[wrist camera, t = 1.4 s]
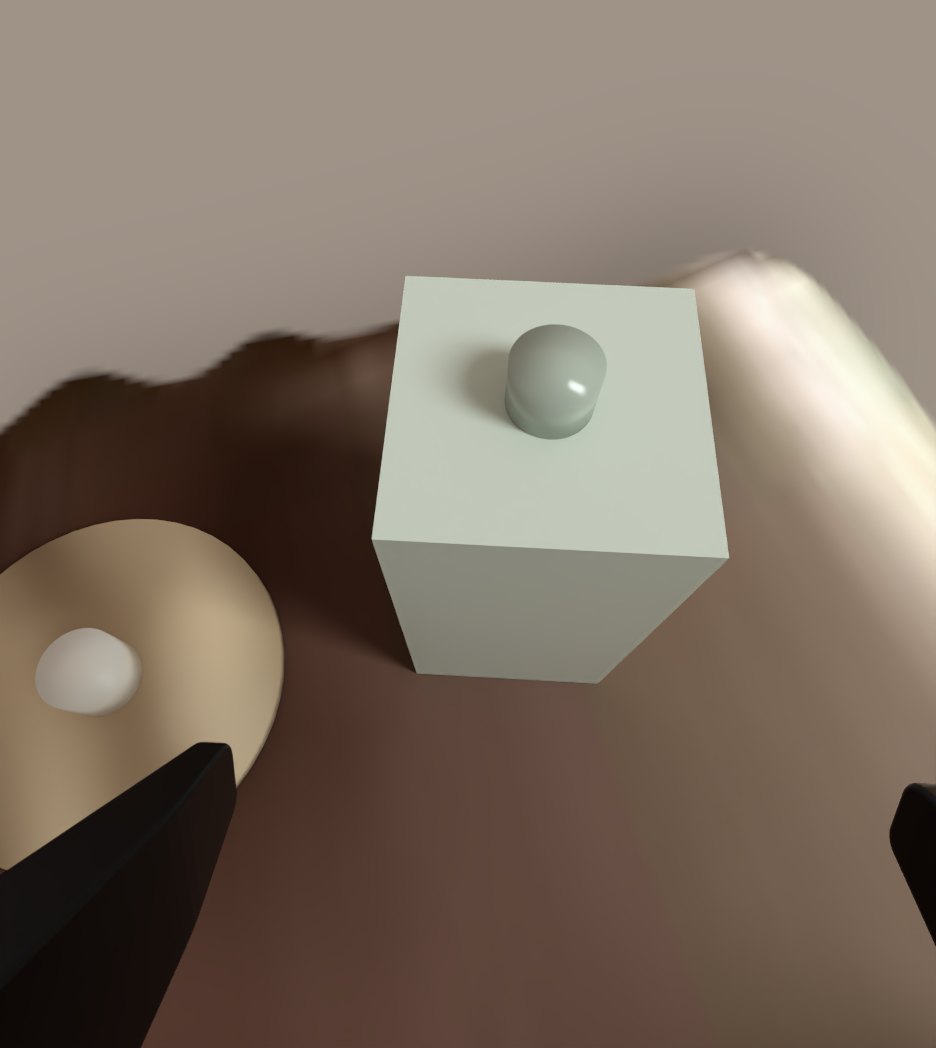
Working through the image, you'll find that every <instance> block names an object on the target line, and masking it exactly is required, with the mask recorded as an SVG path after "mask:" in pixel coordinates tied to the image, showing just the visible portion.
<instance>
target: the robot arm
mask: <svg viewBox="0 0 936 1048" xmlns="http://www.w3.org/2000/svg"><path fill="white" fill-rule="evenodd" d="M236 796H237V790H236V780H235V771H234V762H233V753H232V749H231V747H230V746H229V745H228V744H227V743H219V742H198V743H196V744H194V745H193V746H191V747H190V748H188V749H187V750H185V751H184V752H182V753H181V754H179V755H178V756H176V757H175V758H173V759H172V760H170V761H169V762H167V763H166V764H164V765H163V766H161V767H160V768H158V769H157V770H155V771H154V772H152V773H151V774H149V775H148V776H146V777H145V778H143V779H142V780H140V781H139V782H137V783H136V784H135V785H133V786H132V787H130V788H129V789H127V790H126V791H124V792H123V793H121V794H120V795H118V796H117V797H115V798H114V799H112V800H111V801H109V802H108V803H106V804H105V805H103V806H102V807H100V808H99V809H97V810H96V811H94V812H93V813H91V814H90V815H88V816H87V817H85V818H84V819H82V820H81V821H79V822H78V823H76V824H75V825H73V826H72V827H70V828H69V829H68V830H66V831H65V832H63V833H62V834H60V835H59V836H57V837H56V838H54V839H53V840H51V841H50V842H48V843H47V844H45V845H44V846H42V847H41V848H39V849H38V850H36V851H35V852H33V853H32V854H30V855H29V856H27V857H26V858H24V859H23V860H21V861H20V862H18V863H17V864H15V865H14V866H12V867H11V868H9V869H8V870H6V871H5V872H3V873H2V874H0V1048H141V1046H142V1044H143V1042H144V1040H145V1037H146V1035H147V1033H148V1031H149V1028H150V1026H151V1024H152V1022H153V1019H154V1017H155V1015H156V1013H157V1011H158V1008H159V1006H160V1004H161V1002H162V999H163V997H164V995H165V993H166V991H167V988H168V986H169V984H170V982H171V979H172V977H173V975H174V973H175V970H176V968H177V966H178V964H179V962H180V959H181V957H182V955H183V953H184V950H185V948H186V946H187V943H188V941H189V939H190V936H191V934H192V932H193V929H194V927H195V924H196V921H197V919H198V916H199V913H200V910H201V907H202V904H203V901H204V898H205V895H206V892H207V889H208V886H209V883H210V881H211V878H212V875H213V872H214V869H215V866H216V863H217V860H218V857H219V854H220V851H221V848H222V845H223V842H224V839H225V836H226V833H227V830H228V827H229V824H230V821H231V818H232V815H233V812H234V808H235V804H236ZM889 837H890V844H891V847H892V850H893V853H894V855H895V857H896V859H897V862H898V864H899V866H900V868H901V871H902V873H903V875H904V877H905V879H906V882H907V884H908V886H909V888H910V890H911V893H912V895H913V897H914V899H915V901H916V904H917V906H918V908H919V910H920V913H921V915H922V917H923V919H924V921H925V924H926V926H927V928H928V930H929V932H930V935H931V937H932V939H933V941H934V943H935V946H936V784H926V783H912V784H909V785H908V786H907V787H906V788H905V789H904V791H903V794H902V797H901V799H900V802H899V805H898V808H897V810H896V813H895V816H894V819H893V821H892V824H891V827H890V835H889Z"/></svg>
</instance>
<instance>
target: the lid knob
mask: <svg viewBox="0 0 936 1048" xmlns="http://www.w3.org/2000/svg"><path fill="white" fill-rule="evenodd" d="M142 673H143V666H142V661H141V658H140V656H139V654H138V652H137V651H136V650H135V649H134V648H133V647H132V646H131V645H130V644H128V643H126V642H124V641H122V640H120V639H118V638H116V637H114V636H112V635H110V634H108V633H106V632H104V631H102V630H99V629H95V628H81V629H76V630H73V631H70V632H68V633H66V634H64V635H62V636H60V637H59V638H58V639H56V640H55V641H54V642H53V643H52V644H51V645H50V646H49V647H48V648H47V649H46V651H45V652H44V653H43V655H42V657H41V658H40V660H39V663H38V665H37V669H36V674H35V684H36V689H37V691H38V694H39V695H40V697H41V698H42V699H43V701H44V702H46V703H47V704H48V705H50V706H52V707H55V708H57V709H61V710H65V711H69V712H73V713H77V714H81V715H85V716H90V717H98V716H104V715H107V714H110V713H113V712H115V711H117V710H118V709H120V708H121V707H123V706H124V705H125V704H126V703H127V702H128V701H129V700H130V699H131V698H132V697H133V695H134V694H135V692H136V691H137V689H138V687H139V685H140V682H141V678H142Z"/></svg>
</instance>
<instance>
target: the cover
mask: <svg viewBox="0 0 936 1048" xmlns="http://www.w3.org/2000/svg"><path fill="white" fill-rule="evenodd" d="M372 542H373V545H374V548H375V551H376V554H377V557H378V560H379V563H380V566H381V569H382V572H383V575H384V578H385V581H386V584H387V587H388V590H389V593H390V595H391V598H392V601H393V604H394V607H395V610H396V613H397V616H398V619H399V622H400V625H401V628H402V631H403V634H404V637H405V640H406V643H407V646H408V649H409V652H410V655H411V658H412V661H413V664H414V667H415V670H416V673H419V674H437V675H455V676H472V677H490V678H508V679H526V680H544V681H561V682H579V683H597V684H598V683H599V682H600V681H601V680H602V679H603V678H604V677H605V676H606V675H607V674H608V673H609V672H610V671H611V670H612V669H613V668H615V667H616V666H617V665H618V664H619V663H620V662H621V661H622V660H623V659H624V658H625V657H626V656H627V655H628V654H629V653H630V652H631V651H632V650H633V649H634V648H635V647H637V646H638V645H639V644H640V643H641V642H642V641H643V640H644V639H645V638H646V637H647V636H648V635H649V634H650V633H651V632H652V631H653V630H654V629H655V628H656V627H658V626H659V625H660V624H661V623H662V622H663V621H664V620H665V619H666V618H667V617H668V616H669V615H670V614H671V613H672V612H673V611H674V610H675V609H676V608H677V607H678V606H680V605H681V604H682V603H683V602H684V601H685V600H686V599H687V598H688V597H689V596H690V595H691V594H692V593H693V592H694V591H695V590H696V589H697V588H698V587H699V586H701V585H702V584H703V583H704V582H705V581H706V580H707V579H708V578H709V577H710V576H711V575H712V574H713V573H714V572H715V571H716V570H717V569H718V568H719V567H720V566H721V565H723V564H724V563H725V562H726V561H727V560H728V559H729V554H728V546H727V538H726V531H725V523H724V515H723V507H722V500H721V492H720V484H719V476H718V469H717V461H716V453H715V445H714V438H713V430H712V422H711V415H710V407H709V399H708V391H707V384H706V376H705V368H704V360H703V353H702V345H701V337H700V329H699V322H698V314H697V306H696V299H695V291H694V289H682V288H660V287H638V286H616V285H594V284H593V285H592V284H572V283H551V282H529V281H507V280H485V279H463V278H441V277H419V276H406V277H405V286H404V293H403V301H402V308H401V316H400V324H399V331H398V339H397V347H396V355H395V362H394V370H393V378H392V386H391V393H390V401H389V409H388V416H387V424H386V432H385V440H384V447H383V455H382V463H381V471H380V478H379V486H378V494H377V501H376V509H375V517H374V525H373V532H372Z"/></svg>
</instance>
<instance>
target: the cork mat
mask: <svg viewBox="0 0 936 1048" xmlns="http://www.w3.org/2000/svg"><path fill="white" fill-rule="evenodd" d="M81 628H95V629H99V630H102V631H104V632H106V633H108V634H110V635H112V636H114V637H116V638H118V639H120V640H122V641H124V642H126V643H128V644H130V645H131V646H132V647H133V648H134V649H135V650H136V651H137V652H138V654H139V656H140V658H141V661H142V666H143V673H142V678H141V682H140V685H139V687H138V689H137V691H136V692H135V694H134V695H133V697H132V698H131V699H130V700H129V701H128V702H127V703H126V704H125V705H124V706H123V707H121V708H120V709H118V710H117V711H115V712H113V713H110V714H107V715H104V716H98V717H90V716H85V715H81V714H77V713H73V712H69V711H65V710H61V709H57V708H55V707H52V706H50V705H48V704H47V703H46V702H44V701H43V699H42V698H41V697H40V695H39V694H38V691H37V689H36V684H35V674H36V669H37V665H38V663H39V660H40V658H41V657H42V655H43V653H44V652H45V651H46V649H47V648H48V647H49V646H50V645H51V644H52V643H53V642H54V641H55V640H56V639H58V638H59V637H60V636H62V635H64V634H66V633H68V632H70V631H73V630H76V629H81ZM284 667H285V650H284V641H283V632H282V629H281V625H280V621H279V617H278V613H277V611H276V608H275V606H274V603H273V601H272V599H271V596H270V594H269V593H268V591H267V589H266V588H265V586H264V584H263V583H262V581H261V580H260V578H259V577H258V576H257V575H256V573H255V572H254V571H253V570H252V569H251V567H250V566H249V565H248V564H247V563H246V562H245V560H244V559H243V558H242V557H240V556H239V555H238V554H237V553H236V552H235V551H234V550H232V549H231V548H230V547H229V546H228V545H226V544H224V543H223V542H221V541H220V540H218V539H217V538H215V537H213V536H212V535H209V534H207V533H205V532H203V531H200V530H198V529H196V528H193V527H190V526H186V525H183V524H179V523H175V522H169V521H162V520H152V519H131V520H119V521H112V522H107V523H102V524H97V525H93V526H90V527H86V528H83V529H80V530H77V531H73V532H71V533H69V534H66V535H64V536H62V537H59V538H57V539H55V540H52V541H50V542H49V543H47V544H45V545H43V546H41V547H39V548H38V549H36V550H34V551H32V552H30V553H29V554H28V555H26V556H25V557H23V558H22V559H20V560H19V561H17V562H16V563H14V564H13V565H11V566H10V567H9V568H8V569H7V570H5V571H4V572H3V573H2V574H1V575H0V868H3V869H5V870H8V869H9V868H11V867H12V866H14V865H15V864H17V863H18V862H20V861H21V860H23V859H24V858H26V857H27V856H29V855H30V854H32V853H33V852H35V851H36V850H38V849H39V848H41V847H42V846H44V845H45V844H47V843H48V842H50V841H51V840H53V839H54V838H56V837H57V836H59V835H60V834H62V833H63V832H65V831H66V830H68V829H69V828H70V827H72V826H73V825H75V824H76V823H78V822H79V821H81V820H82V819H84V818H85V817H87V816H88V815H90V814H91V813H93V812H94V811H96V810H97V809H99V808H100V807H102V806H103V805H105V804H106V803H108V802H109V801H111V800H112V799H114V798H115V797H117V796H118V795H120V794H121V793H123V792H124V791H126V790H127V789H129V788H130V787H132V786H133V785H135V784H136V783H137V782H139V781H140V780H142V779H143V778H145V777H146V776H148V775H149V774H151V773H152V772H154V771H155V770H157V769H158V768H160V767H161V766H163V765H164V764H166V763H167V762H169V761H170V760H172V759H173V758H175V757H176V756H178V755H179V754H181V753H182V752H184V751H185V750H187V749H188V748H190V747H191V746H193V745H194V744H196V743H198V742H219V743H227V744H228V745H229V746H230V747H231V749H232V753H233V762H234V771H235V780H236V788H237V787H238V786H239V784H240V783H241V782H242V780H243V779H244V777H245V776H246V775H247V773H248V772H249V770H250V769H251V768H252V766H253V764H254V762H255V761H256V759H257V757H258V755H259V753H260V752H261V750H262V748H263V746H264V744H265V742H266V740H267V737H268V735H269V733H270V730H271V728H272V725H273V723H274V720H275V717H276V713H277V710H278V706H279V703H280V699H281V693H282V687H283V680H284Z"/></svg>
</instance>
